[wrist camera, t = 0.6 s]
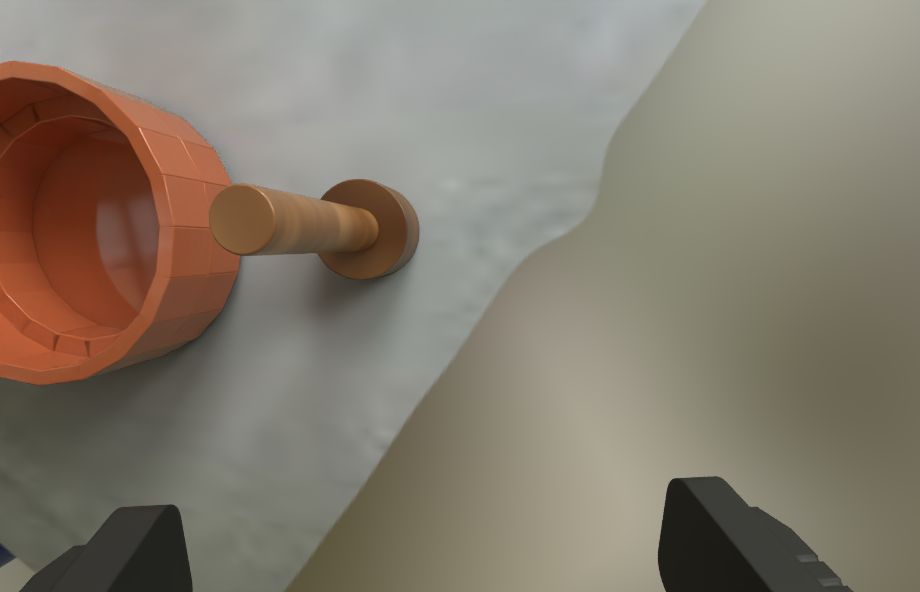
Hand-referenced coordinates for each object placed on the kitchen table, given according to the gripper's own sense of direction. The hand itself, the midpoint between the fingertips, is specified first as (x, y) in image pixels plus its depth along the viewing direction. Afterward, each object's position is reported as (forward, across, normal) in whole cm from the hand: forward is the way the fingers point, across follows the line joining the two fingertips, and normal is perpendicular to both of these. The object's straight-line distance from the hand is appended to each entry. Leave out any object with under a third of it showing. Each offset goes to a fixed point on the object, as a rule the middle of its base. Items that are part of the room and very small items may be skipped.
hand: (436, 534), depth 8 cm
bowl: (+26, -18, +1) cm, 31 cm away
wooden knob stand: (+22, -2, +1) cm, 23 cm away
